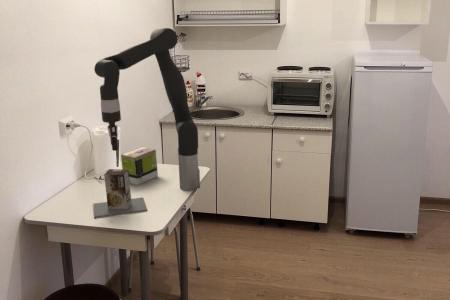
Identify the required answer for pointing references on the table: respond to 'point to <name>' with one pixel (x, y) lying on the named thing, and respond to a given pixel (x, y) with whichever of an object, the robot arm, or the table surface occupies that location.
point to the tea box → (140, 164)
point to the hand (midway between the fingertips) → (114, 147)
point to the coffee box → (118, 188)
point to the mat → (103, 210)
